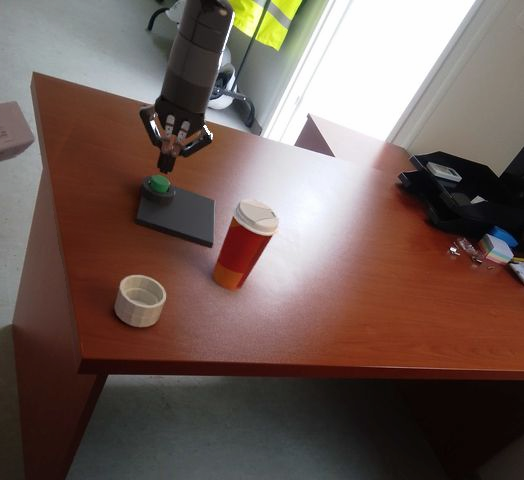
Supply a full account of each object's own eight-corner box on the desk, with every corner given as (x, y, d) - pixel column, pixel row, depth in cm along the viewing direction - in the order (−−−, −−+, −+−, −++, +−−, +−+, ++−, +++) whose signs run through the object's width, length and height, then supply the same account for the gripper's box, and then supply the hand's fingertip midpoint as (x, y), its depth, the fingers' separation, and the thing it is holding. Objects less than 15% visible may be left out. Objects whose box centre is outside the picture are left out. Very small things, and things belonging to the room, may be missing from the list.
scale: (131, 222, 79) (135, 208, 77) (142, 180, 89) (145, 166, 87) (211, 248, 84) (217, 235, 82) (213, 205, 94) (218, 192, 92)
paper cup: (236, 263, 84) (267, 199, 74) (255, 293, 80) (290, 229, 71) (199, 263, 79) (227, 194, 70) (216, 295, 76) (249, 227, 66)
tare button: (148, 189, 83) (151, 181, 82) (150, 180, 85) (153, 172, 84) (166, 195, 84) (168, 187, 83) (167, 186, 86) (170, 178, 85)
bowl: (110, 322, 62) (116, 299, 59) (117, 292, 67) (123, 269, 64) (155, 334, 65) (164, 312, 62) (160, 304, 69) (167, 282, 66)
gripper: (146, 60, 66) (123, 167, 77) (232, 98, 70) (198, 194, 82) (152, 45, 71) (129, 148, 82) (231, 81, 75) (199, 174, 87)
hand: (163, 171), depth 82 cm, fingers closed
